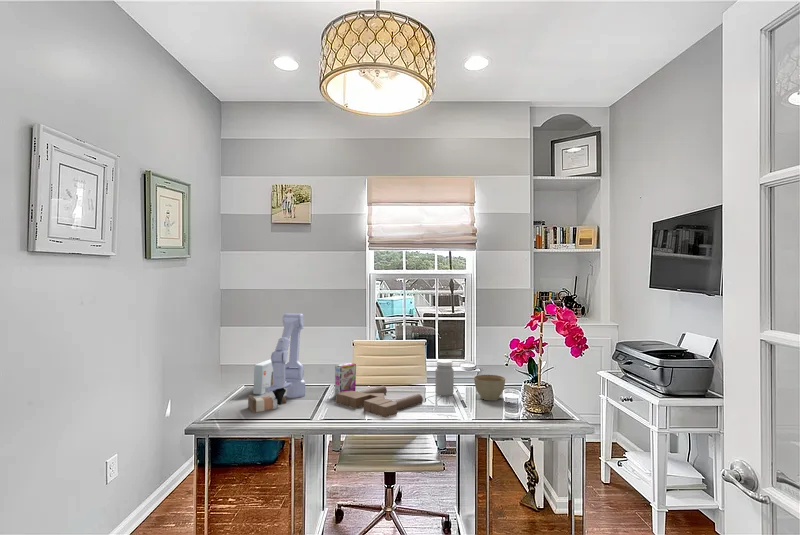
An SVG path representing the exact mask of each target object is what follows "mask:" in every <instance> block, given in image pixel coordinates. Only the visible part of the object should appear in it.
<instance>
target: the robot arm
mask: <svg viewBox="0 0 800 535" xmlns="http://www.w3.org/2000/svg"><path fill="white" fill-rule="evenodd" d="M282 325H283V329H282V330H283V331H282V335H281V337H280V338H279V339H278V341H277V344H276V347H275V350H274V351H273V352H271V354H270V359H271V362H272V367H273V385H272V386H270V387H267V388H265V393H266V394H267V393H268V394H269V393H270V392H272V393H273V396H274V397H275V398H276V399H277V406H278V405H279V406H281V405H282V404H281V402H282V398H283V397H286V398H289V399H294V398H295V399H296V398H300V397H306V382H305V380H304V376H305V370H304V369H305V368H304V364H302V363H301V362H300V360H299V359H300V358H299V357H300V341H301V340H300V339H301V331H302V330H303V329H304V327H305V316H304V314H303V313H287V312H286V313H285V312H284V313H283V316H282ZM289 339H290V340H289ZM288 350H289V353H288ZM288 354H289V357H288ZM288 358H289V359H288ZM288 360H289V361H288ZM287 361H288V362H287ZM285 394H286V395H285Z"/></svg>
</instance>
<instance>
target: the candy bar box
mask: <svg viewBox="0 0 800 535" xmlns="http://www.w3.org/2000/svg"><path fill="white" fill-rule="evenodd" d="M334 368H335V369H334V396H335V397H336V393H340V392H344V391H356V381H357V380H356V376H357V370H356V369H357V363H354V362H347V363H341V364H340V363H339V364H335V365H334Z"/></svg>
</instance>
